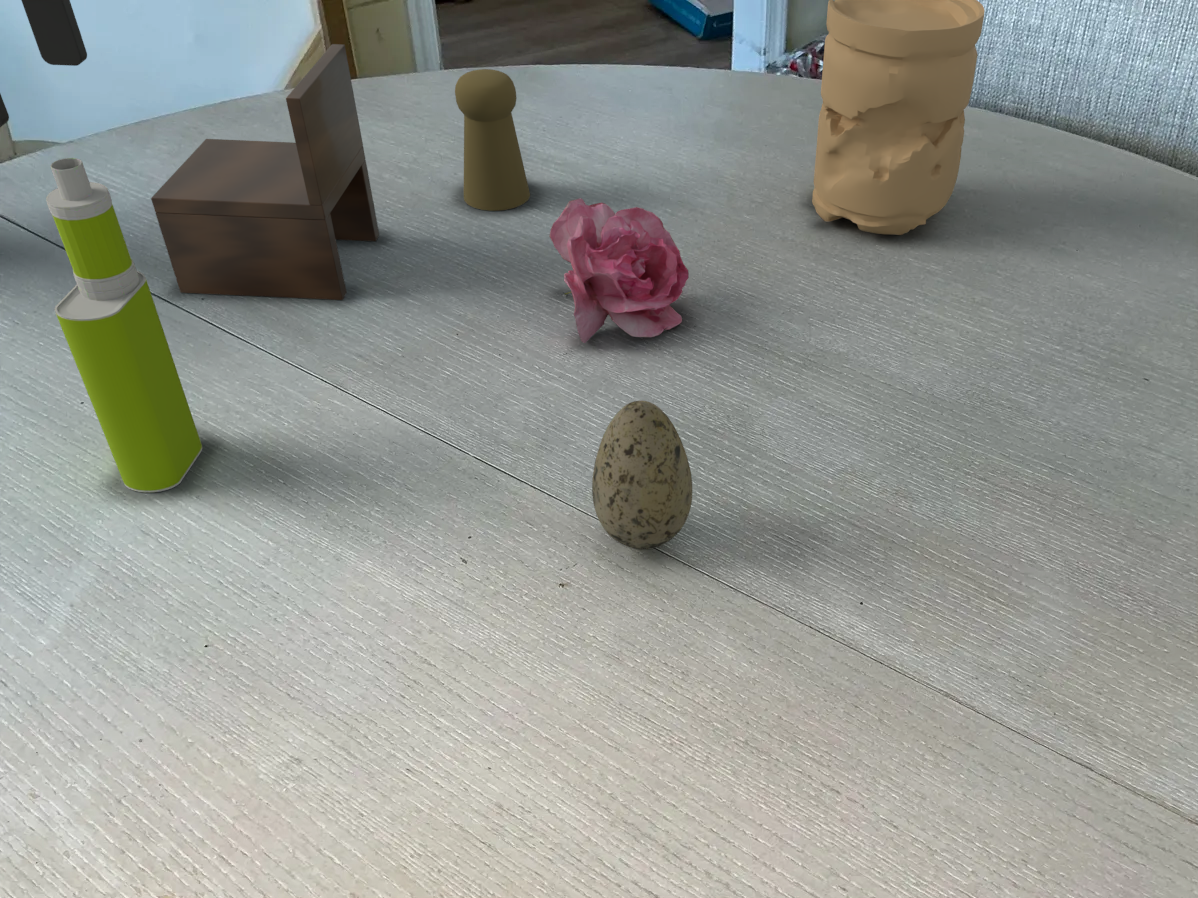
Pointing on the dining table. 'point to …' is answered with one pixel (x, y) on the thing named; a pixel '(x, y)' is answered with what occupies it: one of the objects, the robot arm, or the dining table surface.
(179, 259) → the wooden toy chair
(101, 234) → the vape
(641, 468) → the decorative egg
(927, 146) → the container
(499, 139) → the brown peg doll
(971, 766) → the dining table surface
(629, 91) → the dining table surface
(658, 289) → the flower
